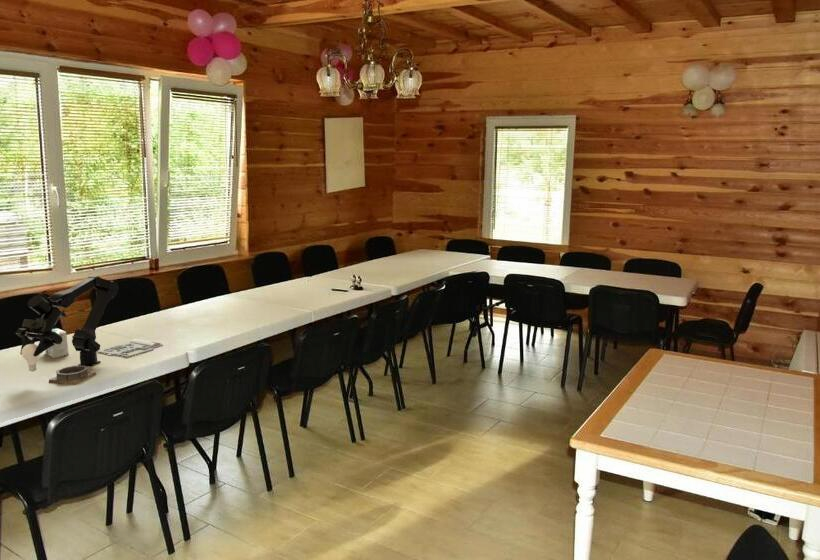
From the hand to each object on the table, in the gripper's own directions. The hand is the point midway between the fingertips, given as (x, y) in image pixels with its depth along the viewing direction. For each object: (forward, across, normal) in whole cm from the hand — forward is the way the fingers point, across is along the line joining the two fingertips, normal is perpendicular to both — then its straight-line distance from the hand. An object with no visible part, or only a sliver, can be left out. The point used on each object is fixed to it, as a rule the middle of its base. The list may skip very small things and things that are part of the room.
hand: (27, 355), depth 249 cm
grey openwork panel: (-28, +2, +47) cm, 54 cm away
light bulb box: (-16, -26, +35) cm, 46 cm away
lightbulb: (+4, 0, +6) cm, 7 cm away
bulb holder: (0, +8, +18) cm, 19 cm away
